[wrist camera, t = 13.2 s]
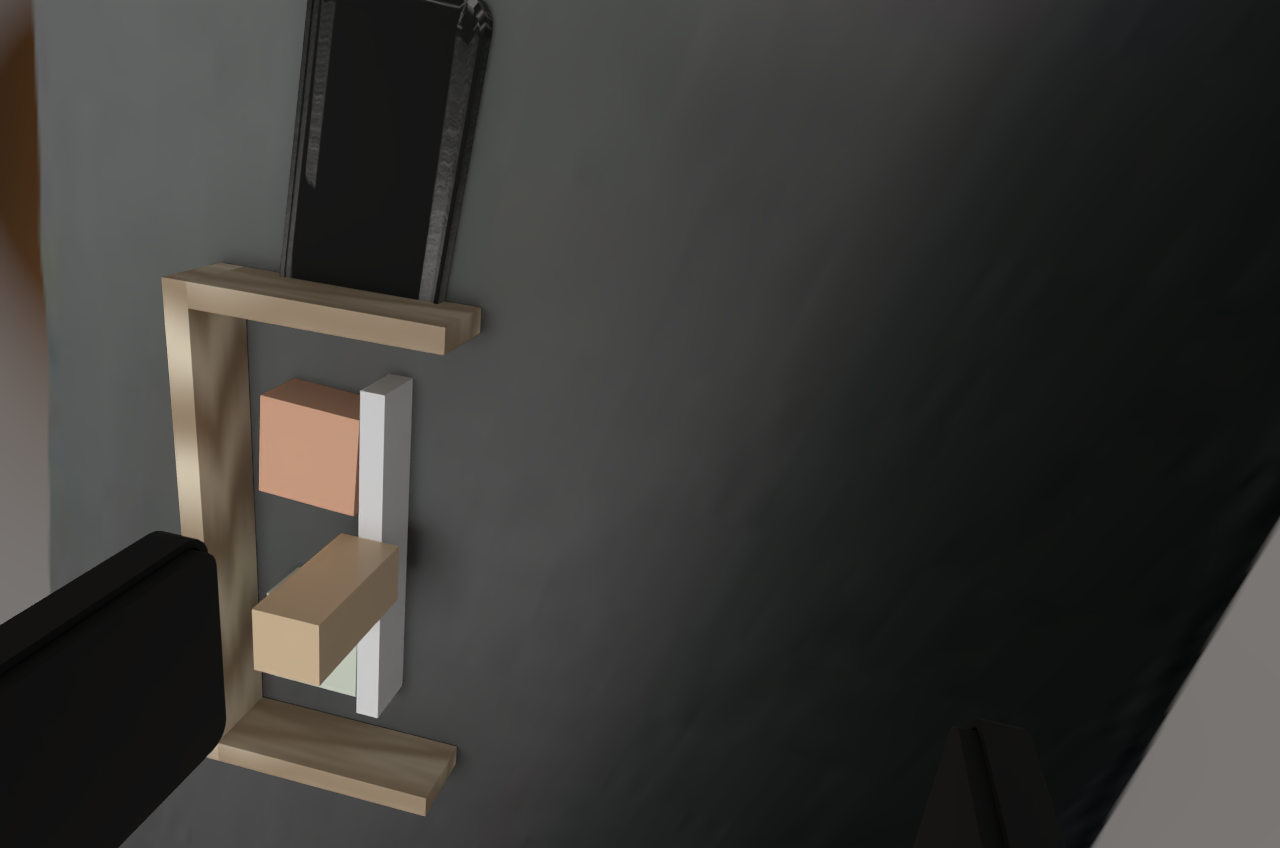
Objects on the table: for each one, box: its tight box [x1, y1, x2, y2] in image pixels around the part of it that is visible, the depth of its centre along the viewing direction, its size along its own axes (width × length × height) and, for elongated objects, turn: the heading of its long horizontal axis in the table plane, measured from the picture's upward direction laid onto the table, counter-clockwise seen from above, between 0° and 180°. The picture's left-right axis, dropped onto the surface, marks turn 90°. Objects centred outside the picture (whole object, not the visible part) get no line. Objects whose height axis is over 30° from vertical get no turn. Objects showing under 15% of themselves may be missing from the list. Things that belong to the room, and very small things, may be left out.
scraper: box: [252, 374, 413, 718], centre depth 40 cm, size 18×3×10 cm, turn 172°
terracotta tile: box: [259, 378, 360, 516], centre depth 42 cm, size 5×5×3 cm
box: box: [162, 263, 481, 816], centre depth 43 cm, size 26×13×4 cm, turn 173°
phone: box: [280, 0, 493, 304], centre depth 38 cm, size 8×1×15 cm
